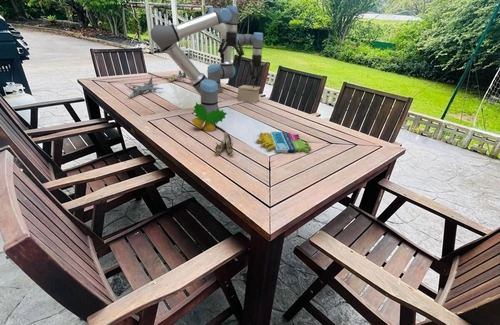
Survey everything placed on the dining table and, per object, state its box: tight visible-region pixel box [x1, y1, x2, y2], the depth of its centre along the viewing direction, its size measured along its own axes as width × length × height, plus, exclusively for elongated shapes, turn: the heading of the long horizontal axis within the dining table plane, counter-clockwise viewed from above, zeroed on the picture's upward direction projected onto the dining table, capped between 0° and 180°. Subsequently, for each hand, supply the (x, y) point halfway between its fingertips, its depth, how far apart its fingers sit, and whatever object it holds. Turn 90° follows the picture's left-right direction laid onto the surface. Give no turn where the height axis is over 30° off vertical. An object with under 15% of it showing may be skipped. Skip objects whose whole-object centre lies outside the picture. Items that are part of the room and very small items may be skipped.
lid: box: [237, 78, 261, 91], centre depth 219 cm, size 16×10×8 cm, turn 64°
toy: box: [161, 70, 187, 82], centre depth 276 cm, size 28×7×30 cm
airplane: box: [127, 75, 164, 99], centre depth 224 cm, size 38×31×10 cm
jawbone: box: [214, 131, 234, 156], centre depth 136 cm, size 9×15×10 cm
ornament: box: [191, 102, 228, 132], centre depth 162 cm, size 21×8×15 cm, turn 105°
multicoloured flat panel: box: [256, 131, 312, 154], centre depth 152 cm, size 26×2×30 cm
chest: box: [237, 88, 260, 104], centre depth 223 cm, size 15×10×10 cm, turn 64°
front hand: (230, 64), depth 190 cm, fingers open, 13 cm apart
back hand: (254, 84), depth 217 cm, fingers closed on lid, 2 cm apart
